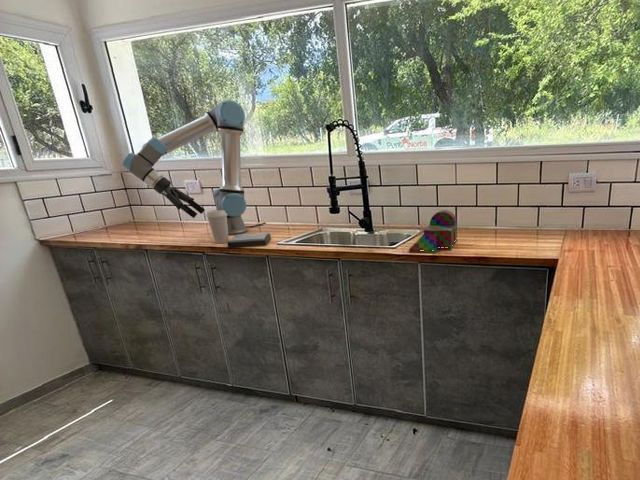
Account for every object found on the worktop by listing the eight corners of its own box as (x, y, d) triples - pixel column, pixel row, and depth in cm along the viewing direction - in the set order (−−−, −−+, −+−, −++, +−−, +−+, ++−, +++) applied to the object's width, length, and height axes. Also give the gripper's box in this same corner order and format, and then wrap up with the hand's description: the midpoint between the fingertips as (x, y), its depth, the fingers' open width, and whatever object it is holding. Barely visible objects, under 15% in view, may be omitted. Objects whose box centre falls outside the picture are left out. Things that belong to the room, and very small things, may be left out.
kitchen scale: (235, 240, 224) (234, 234, 223) (271, 238, 226) (270, 232, 225) (228, 247, 208) (226, 241, 207) (266, 245, 210) (265, 238, 209)
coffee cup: (235, 240, 225) (230, 209, 219) (226, 244, 216) (220, 212, 210) (217, 240, 226) (211, 209, 220) (207, 244, 217) (201, 212, 211)
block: (421, 240, 212) (420, 209, 207) (456, 240, 209) (456, 209, 204) (409, 252, 189) (408, 218, 184) (449, 253, 186) (449, 218, 181)
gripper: (162, 186, 219) (201, 215, 226) (143, 191, 196) (187, 223, 204) (172, 174, 218) (210, 204, 225) (153, 178, 195) (197, 211, 202)
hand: (199, 213), depth 214 cm, fingers open, 13 cm apart
